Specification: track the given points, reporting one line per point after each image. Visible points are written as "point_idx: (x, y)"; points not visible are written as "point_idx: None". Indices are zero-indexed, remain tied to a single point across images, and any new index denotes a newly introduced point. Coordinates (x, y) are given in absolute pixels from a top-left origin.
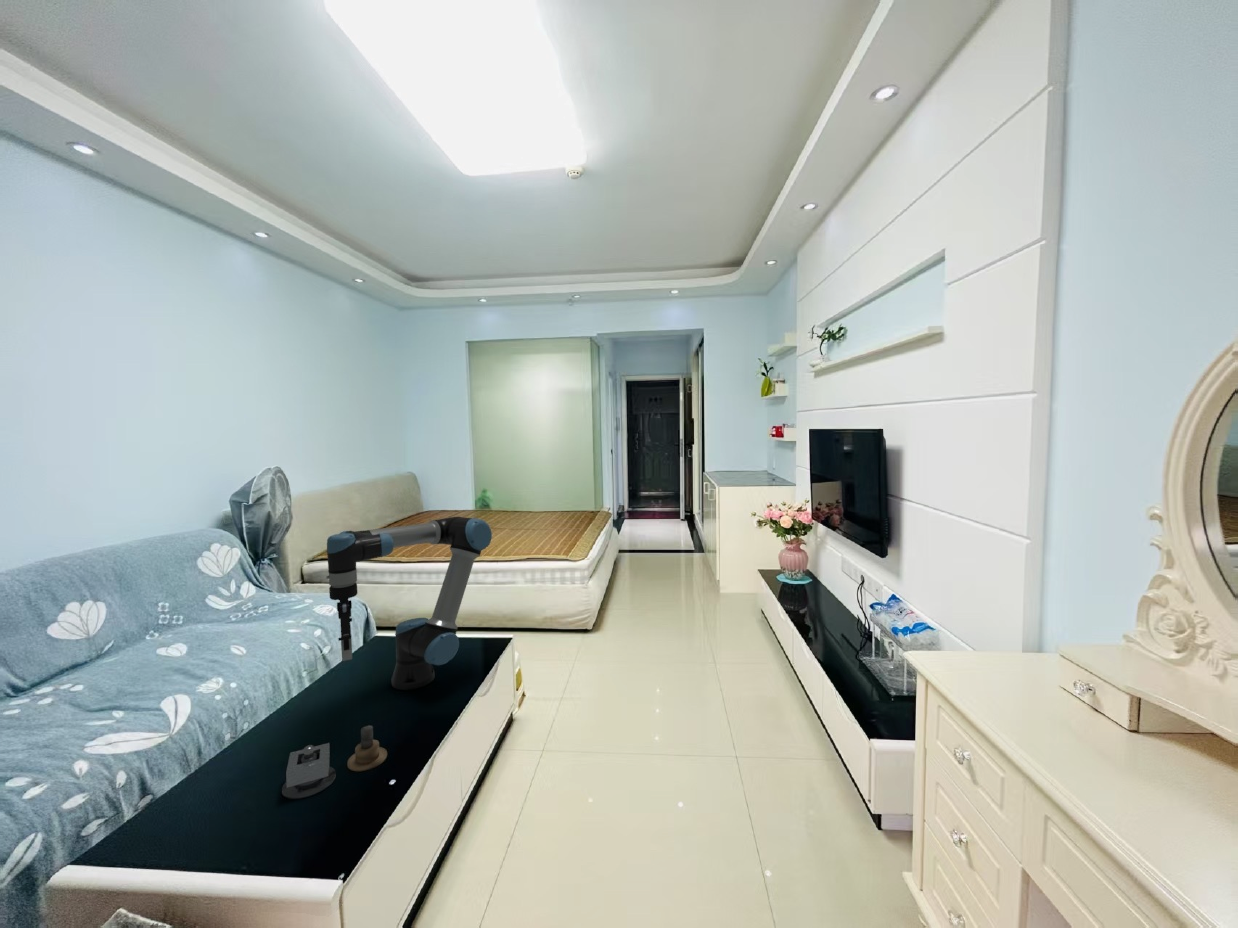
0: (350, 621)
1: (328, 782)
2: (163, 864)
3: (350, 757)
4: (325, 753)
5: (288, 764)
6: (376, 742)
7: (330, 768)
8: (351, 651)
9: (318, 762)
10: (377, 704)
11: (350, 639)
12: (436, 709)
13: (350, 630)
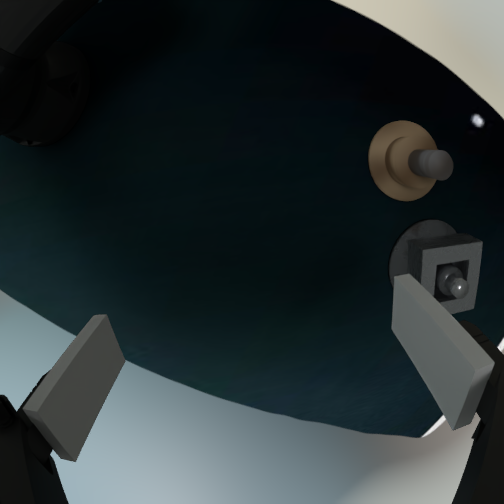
0: (15, 411)
1: (449, 229)
2: None
3: (391, 196)
4: (458, 250)
5: (454, 312)
6: (413, 141)
7: (410, 232)
8: (432, 300)
9: (478, 258)
10: (136, 160)
11: (485, 359)
12: (228, 9)
13: (65, 368)
